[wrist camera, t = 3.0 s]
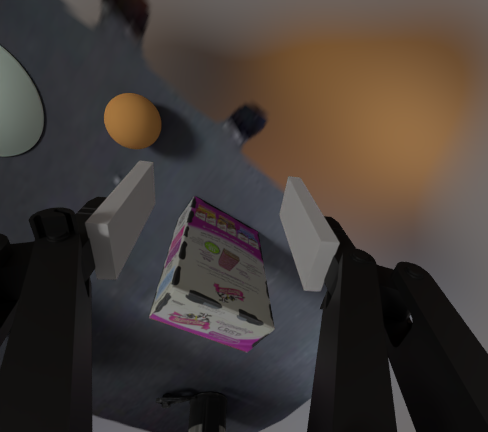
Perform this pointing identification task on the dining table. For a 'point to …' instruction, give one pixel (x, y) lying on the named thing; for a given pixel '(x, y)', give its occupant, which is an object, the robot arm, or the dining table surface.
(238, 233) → the candy bar box
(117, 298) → the dining table surface
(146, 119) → the ball
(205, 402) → the milk frother
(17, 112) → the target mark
